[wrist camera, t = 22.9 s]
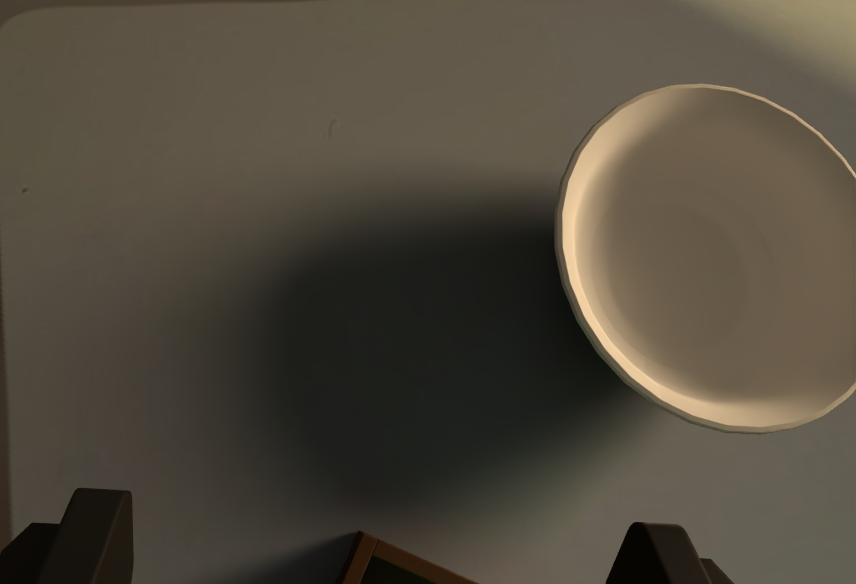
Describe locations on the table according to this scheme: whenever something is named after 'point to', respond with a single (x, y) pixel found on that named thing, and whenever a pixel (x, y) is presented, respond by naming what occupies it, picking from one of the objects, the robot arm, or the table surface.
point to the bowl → (714, 257)
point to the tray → (390, 566)
